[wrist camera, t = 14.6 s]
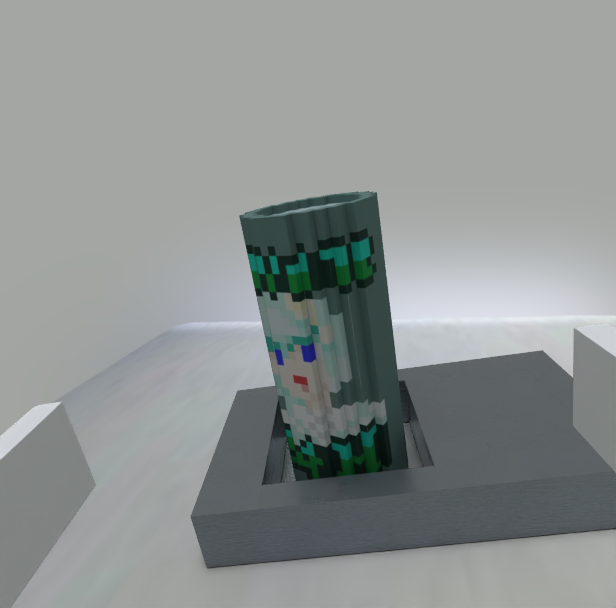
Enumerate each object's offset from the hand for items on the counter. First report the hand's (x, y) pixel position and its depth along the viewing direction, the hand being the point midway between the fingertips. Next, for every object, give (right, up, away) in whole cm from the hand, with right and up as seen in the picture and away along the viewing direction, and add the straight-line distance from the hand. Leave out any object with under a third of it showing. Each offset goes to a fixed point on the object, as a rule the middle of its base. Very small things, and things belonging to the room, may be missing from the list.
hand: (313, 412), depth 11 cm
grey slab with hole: (+5, -6, +13) cm, 16 cm away
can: (+2, -7, +14) cm, 15 cm away
